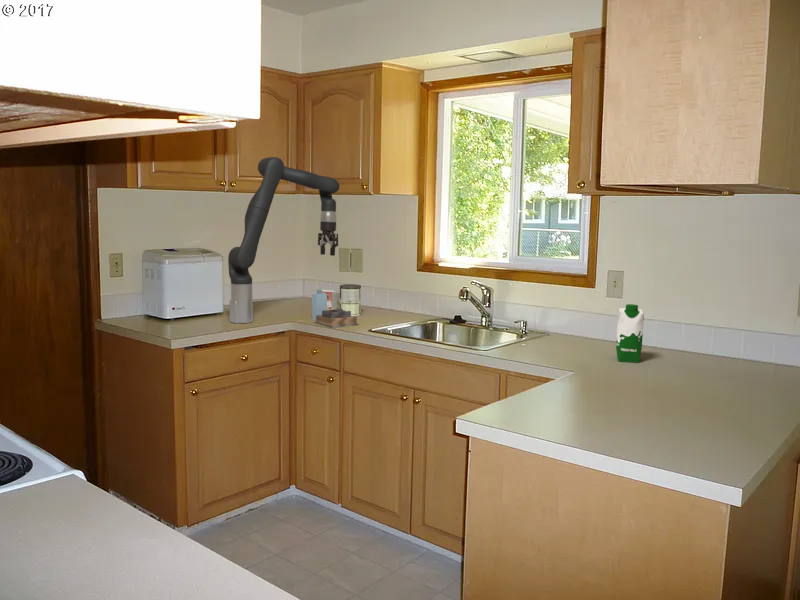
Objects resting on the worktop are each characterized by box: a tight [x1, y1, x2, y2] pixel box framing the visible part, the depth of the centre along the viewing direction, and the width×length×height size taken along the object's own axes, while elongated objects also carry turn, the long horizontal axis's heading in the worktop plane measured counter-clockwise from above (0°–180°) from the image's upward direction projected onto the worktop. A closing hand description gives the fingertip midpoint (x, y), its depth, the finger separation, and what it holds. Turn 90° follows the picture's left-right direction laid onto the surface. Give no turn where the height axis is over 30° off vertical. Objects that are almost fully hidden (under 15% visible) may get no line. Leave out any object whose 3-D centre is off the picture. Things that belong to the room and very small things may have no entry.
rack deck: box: [313, 308, 360, 329], centre depth 307 cm, size 14×15×6 cm
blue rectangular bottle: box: [311, 289, 327, 322], centre depth 316 cm, size 5×4×14 cm
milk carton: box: [615, 303, 645, 364], centre depth 244 cm, size 9×9×20 cm
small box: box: [321, 289, 338, 310], centre depth 339 cm, size 8×6×10 cm
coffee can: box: [339, 283, 362, 317], centre depth 332 cm, size 10×10×14 cm
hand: (327, 255), depth 331 cm, fingers open, 8 cm apart
